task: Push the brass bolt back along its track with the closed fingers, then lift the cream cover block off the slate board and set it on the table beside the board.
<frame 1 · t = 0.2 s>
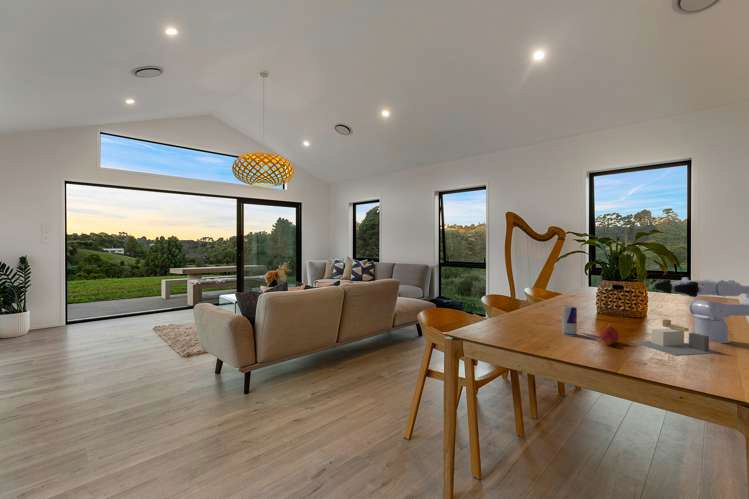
hand: (665, 287, 133), 21 cm above the table, tool horizontal, fingers open, 7 cm apart
cover block: (667, 343, 130), point 1 cm above the table, touching slate board
slate board: (671, 348, 126), on the table
energy drink: (569, 335, 146), on the table
onion: (609, 345, 131), on the table
brass bolt: (675, 325, 130), point 8 cm above the table, slide at 0.0 cm
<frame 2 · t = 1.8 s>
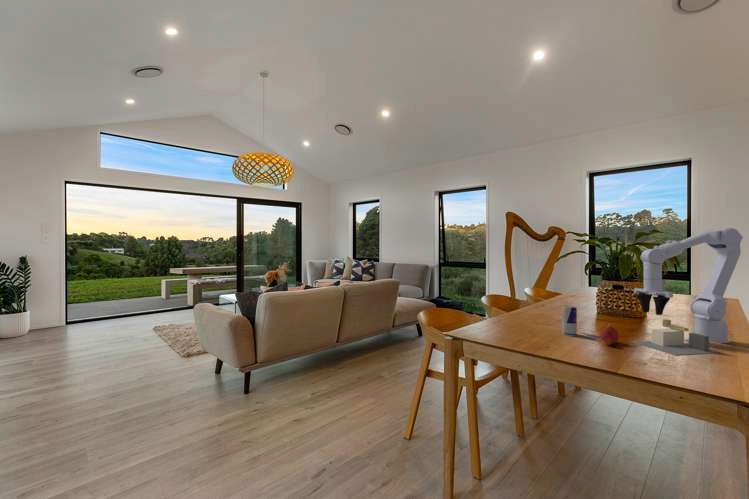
hand: (652, 313, 139), 10 cm above the table, tool pointing down, fingers open, 5 cm apart
nothing on the table moved.
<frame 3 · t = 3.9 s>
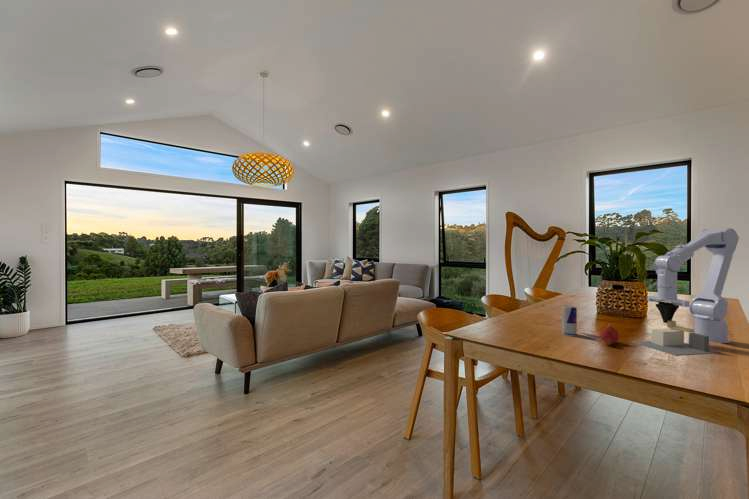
hand: (667, 322, 133), 8 cm above the table, tool pointing down, fingers closed
brass bolt: (680, 326, 128), point 8 cm above the table, slide at 1.8 cm, touching gripper
everything else where it was.
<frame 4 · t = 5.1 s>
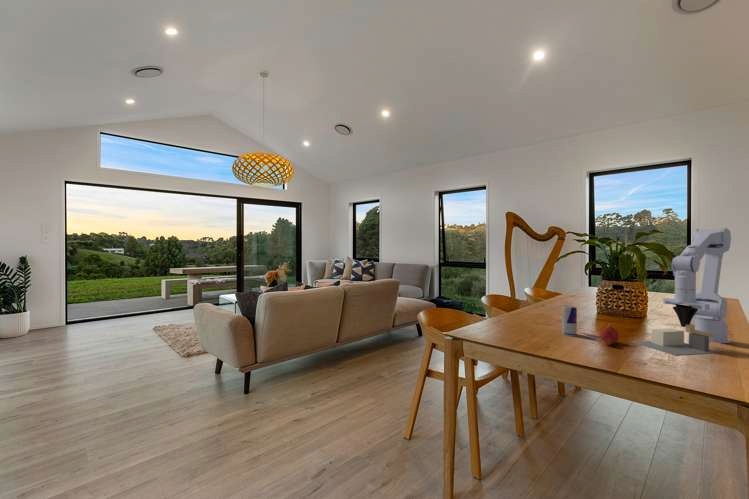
hand: (685, 326, 127), 8 cm above the table, tool pointing down, fingers closed
brass bolt: (700, 330, 122), point 8 cm above the table, slide at 8.4 cm, touching gripper
everything else where it was.
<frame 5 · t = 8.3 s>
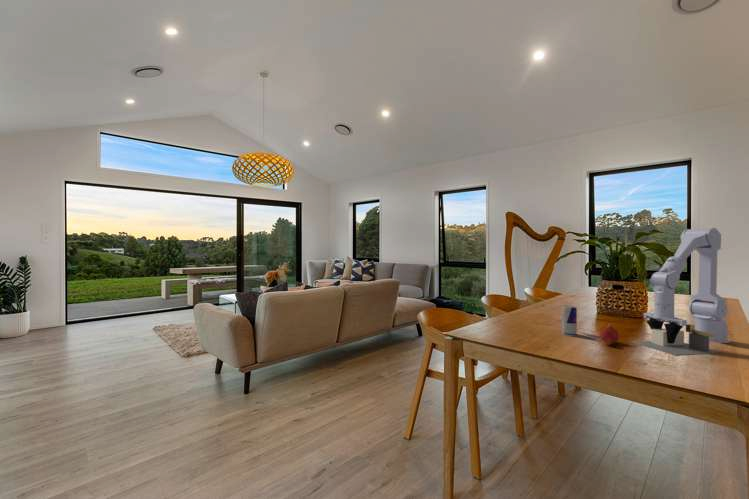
hand: (664, 341, 129), 2 cm above the table, tool pointing down, fingers closed on cover block, 4 cm apart
cover block: (667, 343, 130), point 1 cm above the table, touching gripper, slate board
brass bolt: (700, 330, 122), point 8 cm above the table, slide at 8.5 cm
everything else where it was.
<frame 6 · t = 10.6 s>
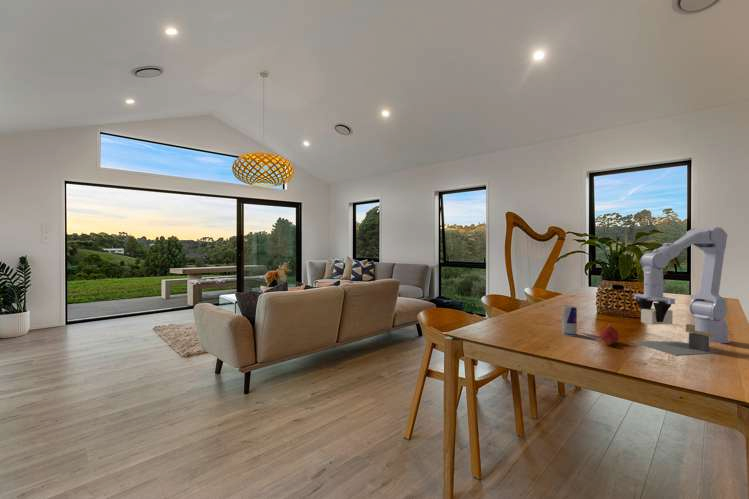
hand: (653, 320, 133), 9 cm above the table, tool pointing down, fingers closed on cover block, 4 cm apart
cover block: (656, 322, 133), point 8 cm above the table, touching gripper
everything else where it was.
when the fingers open (2 cm above the table, at t = 13.0 s): cover block drops 1 cm, on the table.
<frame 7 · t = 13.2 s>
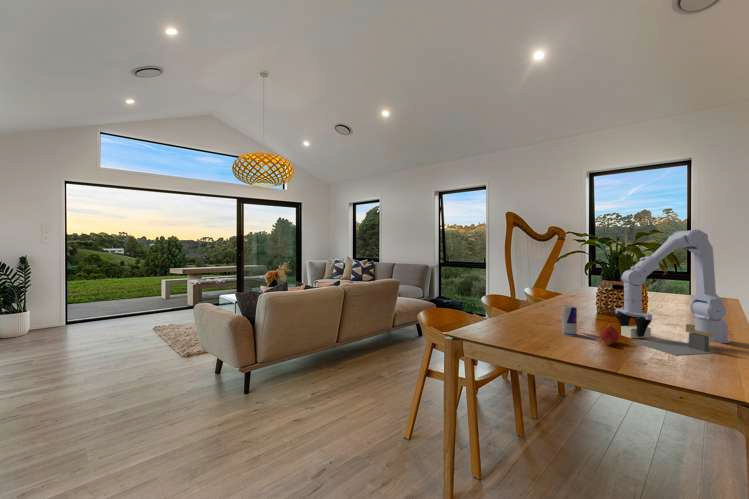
hand: (632, 334, 140), 2 cm above the table, tool pointing down, fingers open, 6 cm apart
cover block: (635, 339, 140), on the table
everything else where it was.
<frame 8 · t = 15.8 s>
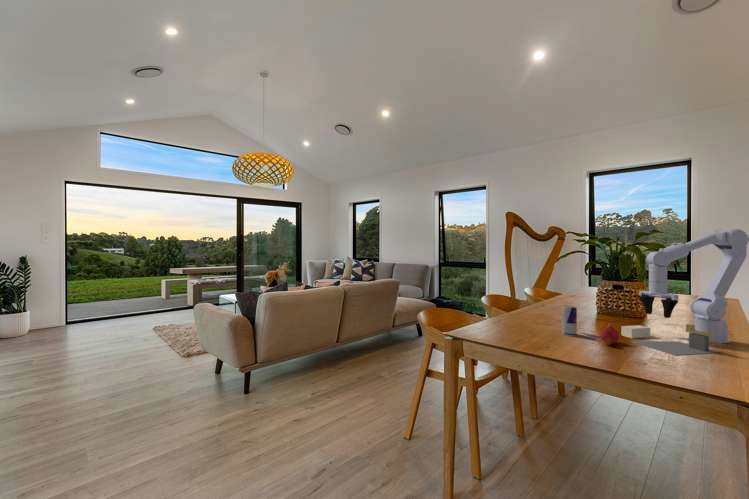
hand: (657, 315, 140), 9 cm above the table, tool pointing down, fingers open, 7 cm apart
nothing on the table moved.
at the end: brass bolt slide at 8.5 cm; cover block inside the target area (0.1 cm from its centre), on the table; cover block tilted 0° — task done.
